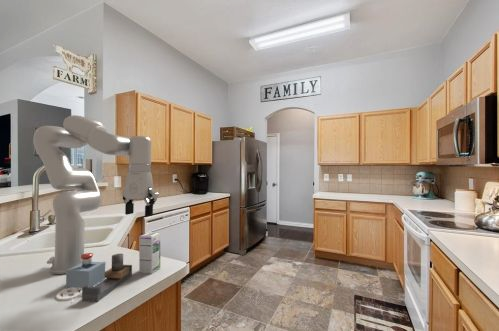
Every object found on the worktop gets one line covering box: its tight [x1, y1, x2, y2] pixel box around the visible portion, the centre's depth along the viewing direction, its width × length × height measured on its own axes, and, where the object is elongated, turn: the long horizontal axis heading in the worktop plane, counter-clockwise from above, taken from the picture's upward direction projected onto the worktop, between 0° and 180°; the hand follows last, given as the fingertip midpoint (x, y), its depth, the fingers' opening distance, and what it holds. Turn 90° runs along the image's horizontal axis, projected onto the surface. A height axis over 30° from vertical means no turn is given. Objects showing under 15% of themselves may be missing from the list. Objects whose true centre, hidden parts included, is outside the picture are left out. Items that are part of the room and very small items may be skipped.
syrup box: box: [138, 231, 161, 275], centre depth 93 cm, size 6×6×14 cm
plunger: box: [81, 252, 94, 267], centre depth 82 cm, size 3×3×4 cm
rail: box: [81, 264, 133, 303], centre depth 79 cm, size 5×18×4 cm, turn 176°
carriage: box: [104, 253, 129, 279], centre depth 83 cm, size 6×5×7 cm
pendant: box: [55, 287, 82, 304], centre depth 73 cm, size 7×11×1 cm, turn 44°
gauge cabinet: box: [65, 261, 106, 289], centre depth 82 cm, size 8×8×6 cm
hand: (138, 214), depth 87 cm, fingers open, 9 cm apart
